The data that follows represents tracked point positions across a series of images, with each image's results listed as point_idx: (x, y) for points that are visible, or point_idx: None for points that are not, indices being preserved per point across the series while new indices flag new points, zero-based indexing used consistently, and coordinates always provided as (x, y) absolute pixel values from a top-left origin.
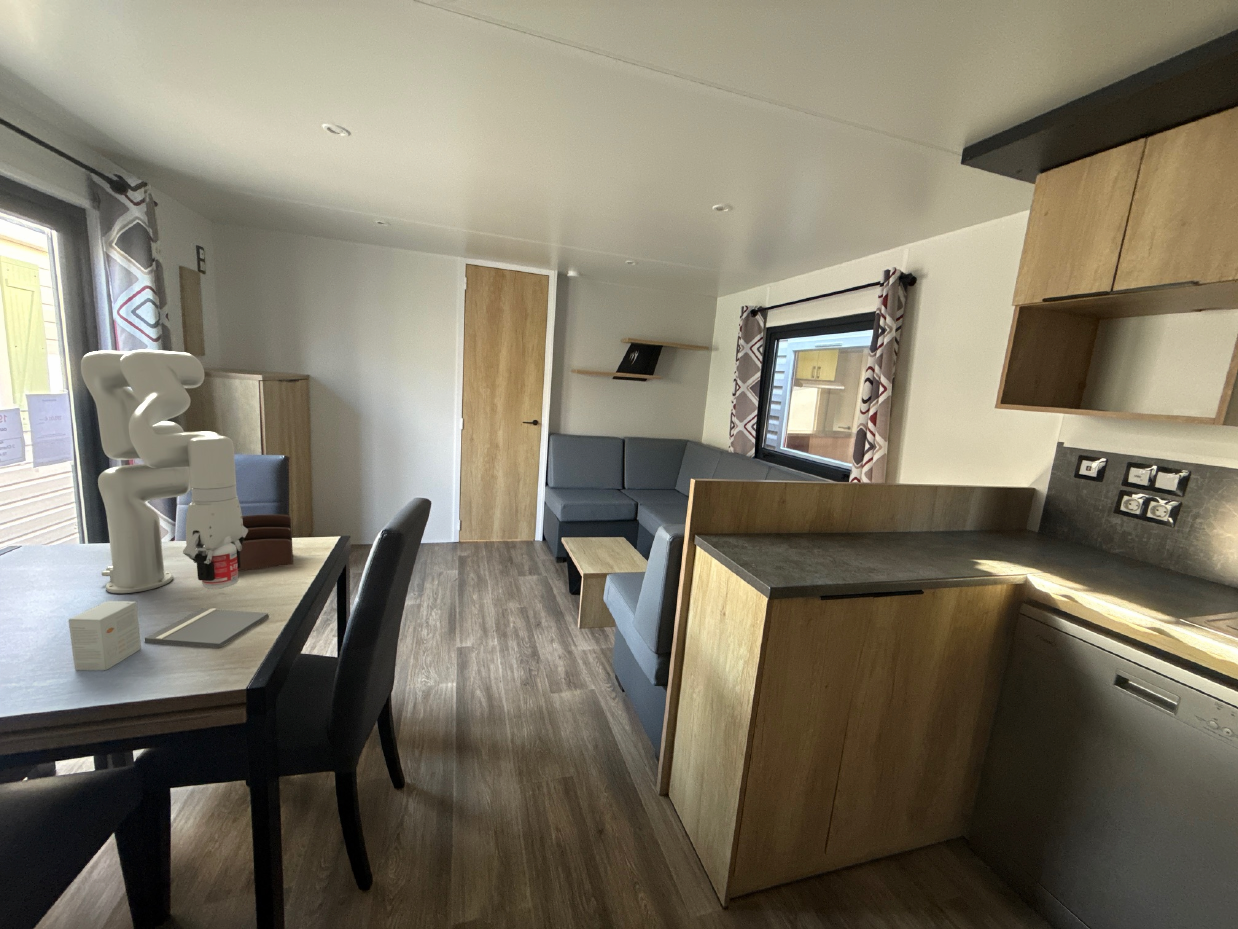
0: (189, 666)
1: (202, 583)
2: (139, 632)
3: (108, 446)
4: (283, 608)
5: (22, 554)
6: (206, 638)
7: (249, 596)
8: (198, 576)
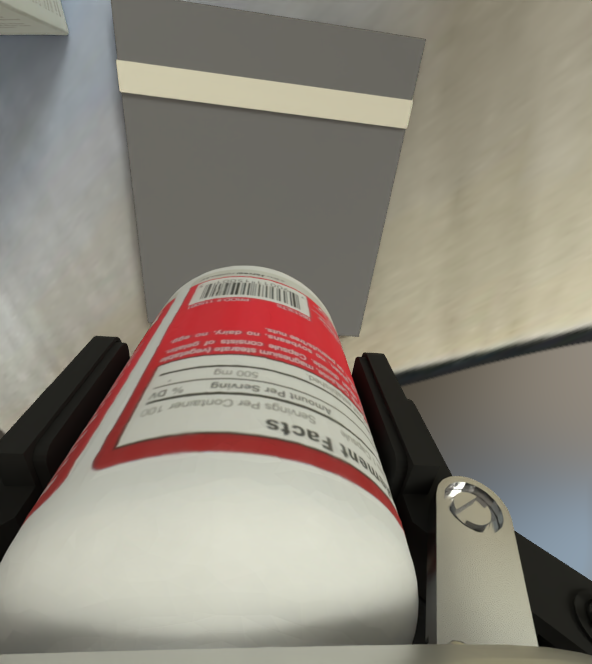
0: (44, 303)
1: (171, 298)
2: (18, 11)
3: None
4: (418, 336)
5: None
6: (168, 263)
7: (561, 155)
8: (86, 352)
